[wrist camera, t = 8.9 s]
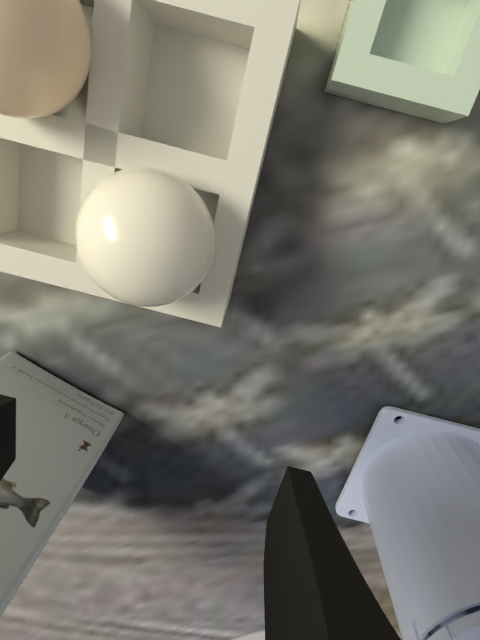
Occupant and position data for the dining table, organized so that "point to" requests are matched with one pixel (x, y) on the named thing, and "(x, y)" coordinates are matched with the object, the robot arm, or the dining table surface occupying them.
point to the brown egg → (42, 56)
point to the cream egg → (145, 237)
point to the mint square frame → (410, 56)
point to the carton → (151, 132)
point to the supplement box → (44, 462)
